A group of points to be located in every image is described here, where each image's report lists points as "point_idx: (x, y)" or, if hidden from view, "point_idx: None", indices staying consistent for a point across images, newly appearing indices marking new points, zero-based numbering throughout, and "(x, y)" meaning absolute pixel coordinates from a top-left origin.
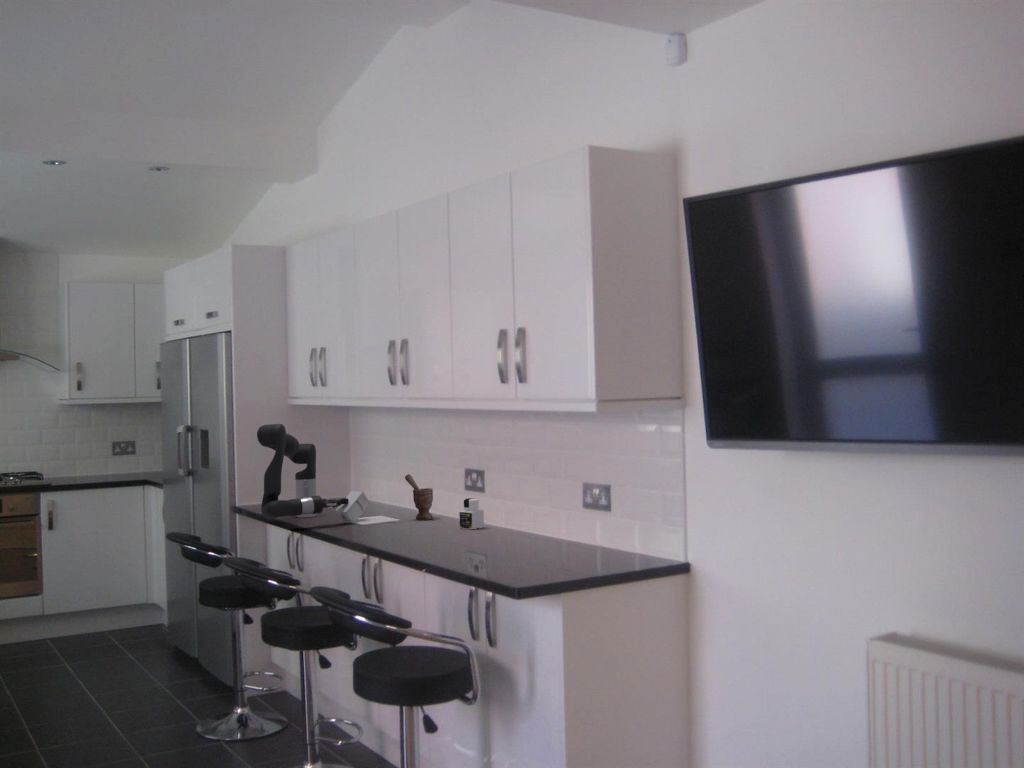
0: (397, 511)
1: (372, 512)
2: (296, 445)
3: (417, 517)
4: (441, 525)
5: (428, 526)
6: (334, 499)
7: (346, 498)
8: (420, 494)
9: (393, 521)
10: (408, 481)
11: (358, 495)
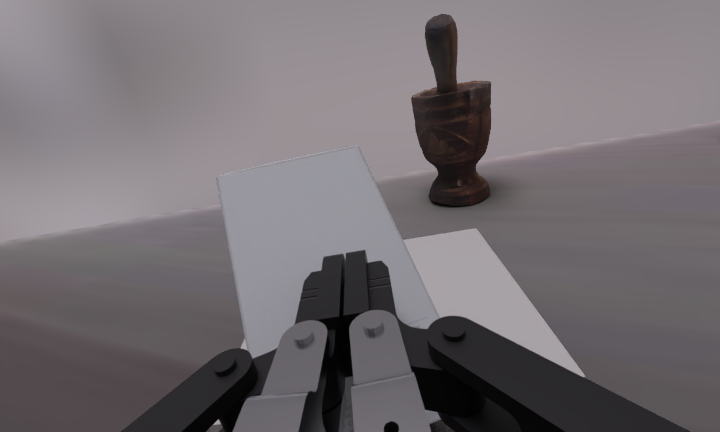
0: (216, 227)
1: (137, 271)
2: None
3: (468, 196)
4: (672, 173)
5: (702, 191)
6: (418, 397)
7: (349, 255)
8: (487, 101)
9: (488, 248)
10: (451, 50)
11: (362, 182)
